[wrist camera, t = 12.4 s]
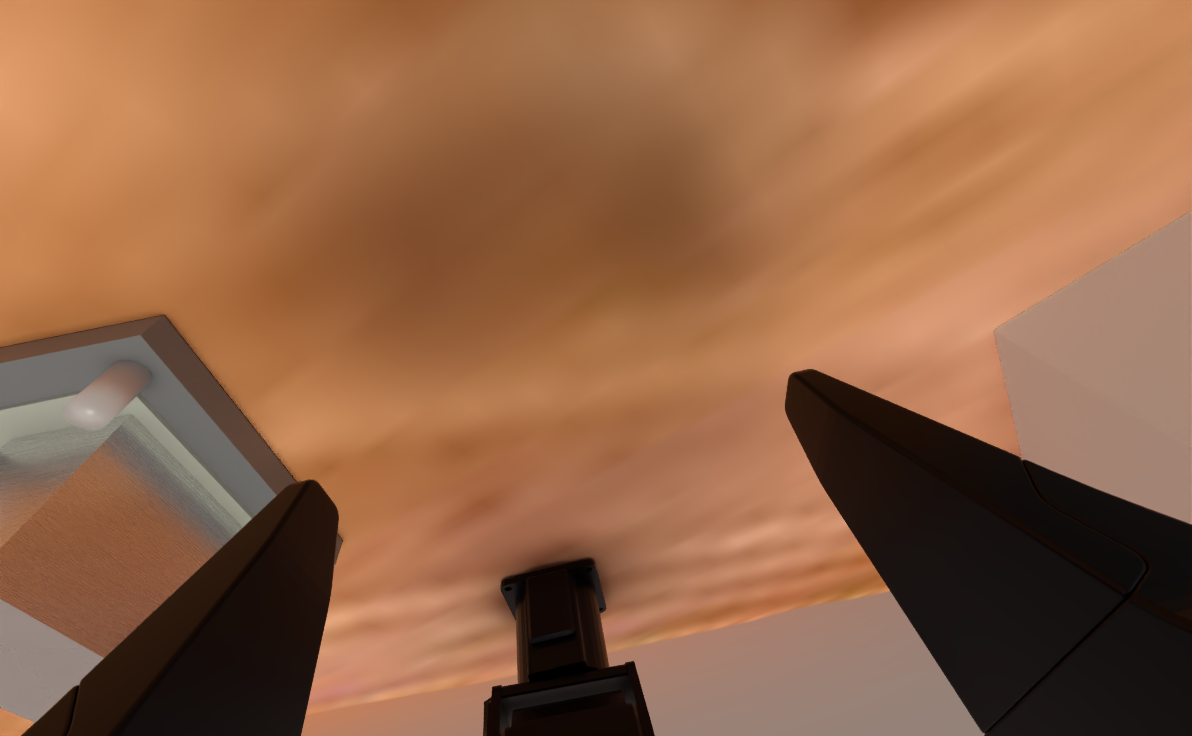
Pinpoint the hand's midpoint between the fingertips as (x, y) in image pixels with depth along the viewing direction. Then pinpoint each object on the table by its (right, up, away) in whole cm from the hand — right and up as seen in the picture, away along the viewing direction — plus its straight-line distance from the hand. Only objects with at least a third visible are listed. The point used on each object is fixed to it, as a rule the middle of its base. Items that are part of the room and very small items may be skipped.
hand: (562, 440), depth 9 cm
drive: (-19, -4, +12) cm, 23 cm away
